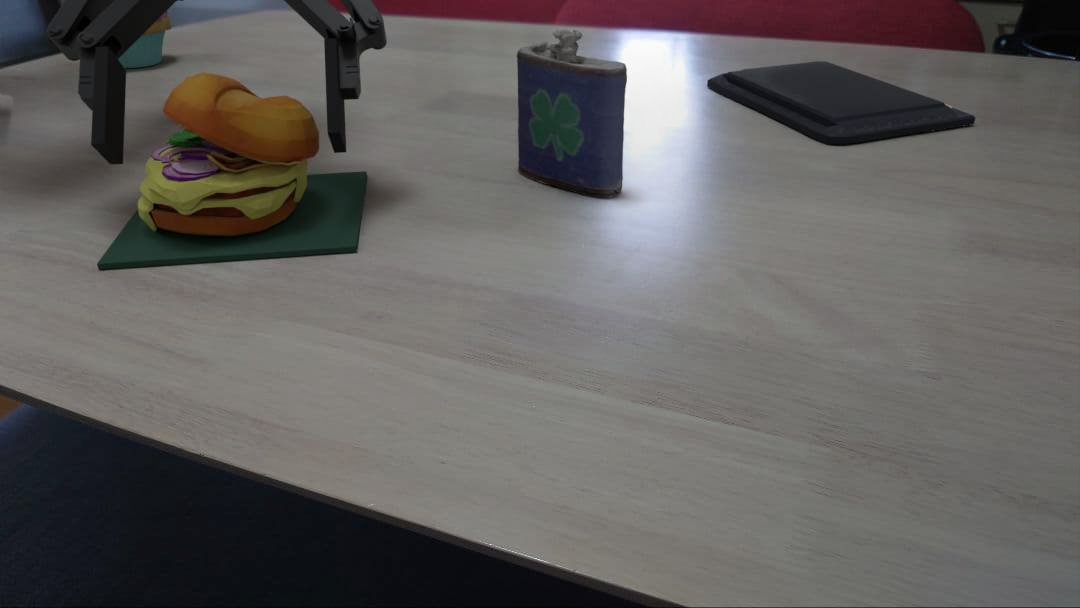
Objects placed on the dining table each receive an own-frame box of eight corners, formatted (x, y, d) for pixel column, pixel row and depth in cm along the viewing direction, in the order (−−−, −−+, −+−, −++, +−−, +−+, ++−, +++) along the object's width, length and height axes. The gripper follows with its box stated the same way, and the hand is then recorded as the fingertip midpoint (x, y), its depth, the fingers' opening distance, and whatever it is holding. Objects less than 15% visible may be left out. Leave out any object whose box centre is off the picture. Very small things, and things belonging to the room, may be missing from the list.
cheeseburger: (132, 201, 56) (134, 52, 52) (292, 208, 61) (304, 73, 57) (142, 258, 48) (145, 86, 44) (325, 261, 53) (342, 107, 49)
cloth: (98, 269, 48) (96, 263, 48) (157, 188, 59) (156, 183, 59) (356, 252, 50) (356, 246, 50) (367, 176, 61) (366, 171, 61)
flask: (629, 191, 58) (635, 34, 52) (603, 203, 56) (607, 42, 51) (533, 162, 63) (530, 17, 58) (507, 172, 61) (501, 24, 56)
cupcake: (128, 76, 88) (96, -45, 82) (81, 66, 92) (47, -49, 86) (195, 59, 94) (170, -54, 88) (148, 51, 98) (121, -58, 92)
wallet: (705, 66, 81) (836, 53, 85) (703, 85, 82) (832, 71, 86) (828, 124, 64) (983, 105, 68) (824, 148, 65) (977, 127, 69)
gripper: (413, -100, 60) (431, 164, 55) (56, -93, 58) (39, 185, 52) (405, -185, 53) (426, 109, 48) (-2, -182, 51) (-30, 130, 45)
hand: (224, 149), depth 50 cm, fingers open, 13 cm apart
